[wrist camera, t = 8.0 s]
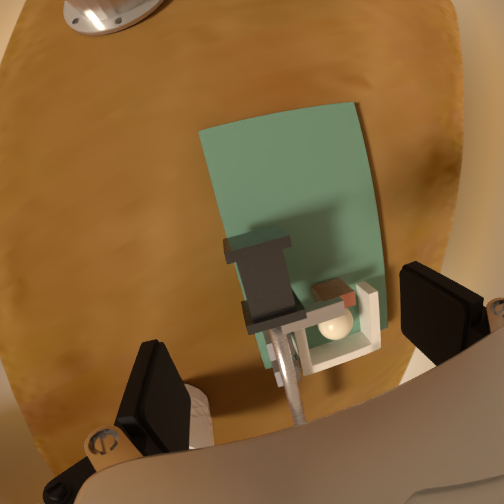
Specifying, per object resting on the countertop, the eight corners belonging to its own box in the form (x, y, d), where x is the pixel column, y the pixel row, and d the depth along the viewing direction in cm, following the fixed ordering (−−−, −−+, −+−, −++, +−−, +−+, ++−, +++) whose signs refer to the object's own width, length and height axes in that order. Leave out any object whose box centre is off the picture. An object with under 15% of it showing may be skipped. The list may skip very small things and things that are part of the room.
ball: (325, 351, 28) (314, 327, 31) (358, 339, 28) (344, 317, 31) (324, 327, 26) (311, 303, 29) (359, 315, 26) (344, 292, 29)
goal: (284, 306, 29) (291, 319, 26) (364, 280, 29) (377, 291, 27) (296, 360, 31) (303, 376, 28) (368, 334, 31) (380, 348, 28)
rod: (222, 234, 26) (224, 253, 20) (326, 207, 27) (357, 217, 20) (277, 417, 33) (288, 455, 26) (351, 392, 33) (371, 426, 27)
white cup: (225, 394, 32) (230, 458, 23) (196, 430, 34) (195, 489, 24) (165, 368, 31) (152, 432, 21) (141, 407, 32) (127, 467, 22)
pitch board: (198, 132, 25) (195, 124, 21) (349, 103, 26) (370, 93, 21) (264, 364, 32) (270, 389, 27) (383, 323, 32) (402, 341, 28)
